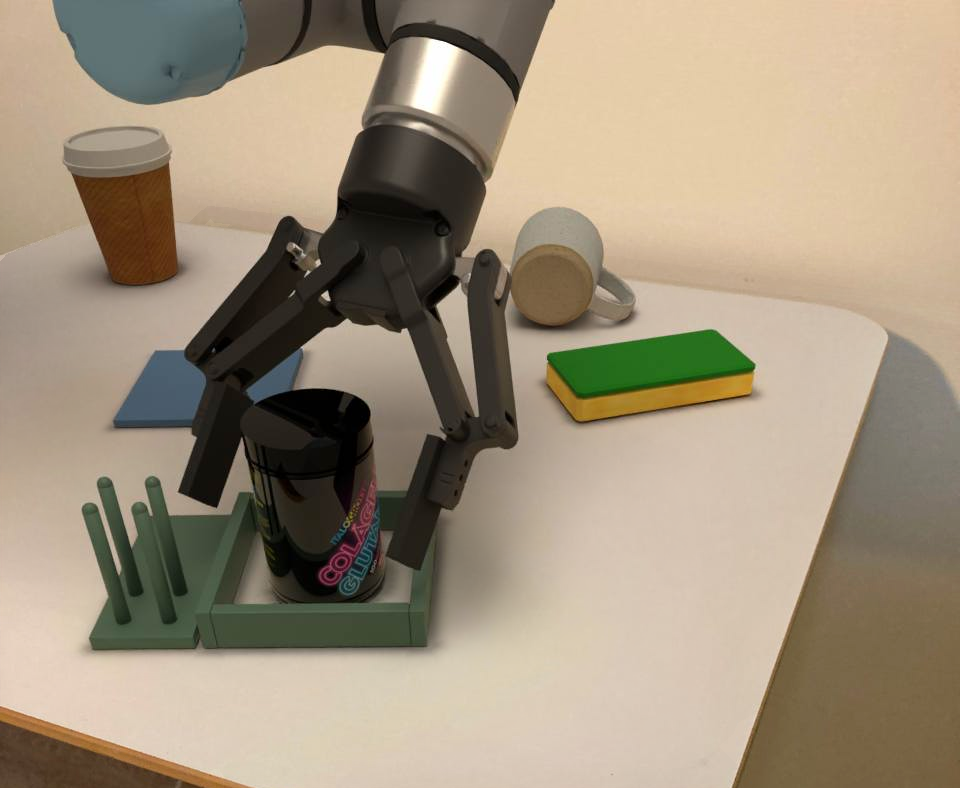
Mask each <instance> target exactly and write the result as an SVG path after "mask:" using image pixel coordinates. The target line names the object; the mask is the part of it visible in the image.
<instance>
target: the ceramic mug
mask: <svg viewBox="0 0 960 788" xmlns="http://www.w3.org/2000/svg"><path fill="white" fill-rule="evenodd" d="M514 246H515V247H514V250H513V254H512V260H511V264H510V267H509V273H510V275H511V277H512V284H511V288H510V295H511V298H512V301H513V303H514V305H515V306H516V308H517V309H518V310H519V311H520V312H521V314H522V315H524V317H525V318H527V319H528V320H530V321H532V322H534V323H537V324H539V325H544V326H553V327H554V326H563V325H565V324H568V323H571V322H573V321H575V319H578V318H579V317H580V316H581V315H582V314H583V312H585V311H588V312H590V313H591V314H594V315H596V316H598V317H601V318H604V319H607V320H610V321H623V320H626V319H627V318H628V317H629V316H630V314H631V312H632V311H633V308H634V307H635V305H636V302H637V301H636V300H637V297H636V294H635V292H634V291H633V289H632V288H631V286H630V285H629V284H628V283H627V282H626V281H625V280H623V279H622V278H621V277H620V276H618V275H617V274H616V273H615V272H613V271H611V270H609V269H607V268H606V267H604V266H603V262H604V257H605V256H604V254H605V251H604V242H603V239H602V236H601V235H600V232H599V230H598V228H597V227H596V225H595V224H594V223H593V222H592V221H591V220H590V218H588V217H587V216H585V215H584V214H583V213H581V212H579V211H578V210H576V209H573V208H570V207H565V206H554V207H547V208H543V209H541V210H539V211H537V212H536V213H534V214H532V215H531V216H529V218H528V219H527V220H526V221H525V222H524V224H523V225H522V226H521V229H520V230H519V232H518V234H517V238H516V241H515V245H514ZM597 286H598V287H599V288H602V289H603V290H605V291H607V292H608V293H609V294H611V295H612V296H613V297H615V298H616V299H617V300H618V301H619V303H616V302H614V301H612V300H609V299H607V298H605V297H602V296H600V295H598V294H596V290H597Z"/></svg>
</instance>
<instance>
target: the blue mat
mask: <svg viewBox="0 0 960 788" xmlns="http://www.w3.org/2000/svg"><path fill="white" fill-rule="evenodd" d="M303 349H304V348H303V347H301V348H299V349H298V350H297V351H296V352H294V353H293V354H292V355H290V356H289V357H288V358H287V359H285V360H284V361H283V362H281V363H280V364H279V365H278V366H276V367H275V368H274V369H273V370H271V371H270V372H269V373H267V374H266V375H265V376H264V377H262V378H261V379H260V380H258V381H257V382H256V383H255V384H253V385H252V386H251V387H249V388H248V389H247V392H248V394H247V395H249V396H250V399H252V400H253V401H254V404H255V403H257V402H259V401H261V400H263V399H265V398H267V397H270V396H272V395H275V394H279V393H282V392H287V391H292V390H293V389H292V388H293V386H294V382H295V380H296V377H297V374H298V371H299V369H300V366H301V362H302V359H303V356H304V350H303ZM184 351H185V349H165V350H164V349H163V350H162V349H160V350H159V349H158V350H154V352H153V353H152V355H151V356H150V358H149V360H148V362H147V363H146V365H145V367H144V368H143V369H142V371H141V373H140V375H139V377H138V378H137V380H136V381H135V383H134V385H133V386H132V387H131V389H130V391H129V393H128V394H127V396H126V398H125V399H124V401H123V403H122V405H121V406H120V407H119V409H118V411H117V413H116V415H115V416H114V418H113V419H112V422H113V426H114V428H164V427H165V428H169V427H170V428H171V427H192V423H193V420H194V417H195V416H196V415H195V414H196V411H197V410H198V405H199V403H200V400H201V397H202V394H203V391H204V388H205V385H206V377H205V375H204V373H203V372H202V371H200V370H199V369H198V368H197V367H196V366H194V365H193V364H192V363H190V362H189V361H187V360H186V359H185V357H184ZM212 352H214V349H213V350H212ZM254 404H253V405H254Z"/></svg>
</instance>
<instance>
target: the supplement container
mask: <svg viewBox="0 0 960 788" xmlns="http://www.w3.org/2000/svg"><path fill="white" fill-rule="evenodd" d="M240 428H241V433H242V439H241V440H242V443H243V453H244V457H245V460H246V462H247V467H248V472H249V477H250V484H251V489H252V492H253V494H254V500H255V505H256V511H257V516H258V521H259V527H260V531H259V532H260V537H261V542H262V548H263V553H264V554H263V555H264V558H265V559H264V560H265V563H266V569H267V575H268V580H269V583H270V586H271V588H272V590H273V591H274V592H275V594H276V595H277V596H278V597H279V598H280V599H281V600H282V601H284V602H285V603H286V604H311V603H362V602H363V601H364V600H367V598H369V597H370V596H371V595H372V594H373V593H374V592H375V591H376V590H377V589H378V587H379V586H380V585H381V583H382V581H383V579H384V576H385V572H386V561H385V551H384V550H385V549H384V542H383V539H384V538H383V530H382V529H381V519H380V508H379V498H378V491H379V490H378V489H379V487H378V480H377V478H378V477H377V468H376V458H375V448H374V445H375V437H374V432H373V422H372V411H371V408H370V406H369V405H368V403H367V402H366V401H365V400H364V399H363V398H361V397H359V396H357V395H356V394H353V393H350V392H347V391H345V390H344V391H343V390H339V389H335V388H333V389H332V388H325V387H324V388H322V387H321V388H320V387H318V388H317V387H314V388H313V387H310V388H299V389H291V391H287V392H282V393H279V394H275V395H272V396H270V397H267V398H265V399H263V400H261V401H259V402H257V403H255V404H254V405H252V406H251V407H250V408H249V409H248V410H247V411H246V412H245V413H244V414H243V416H242V418H241V421H240Z"/></svg>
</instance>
